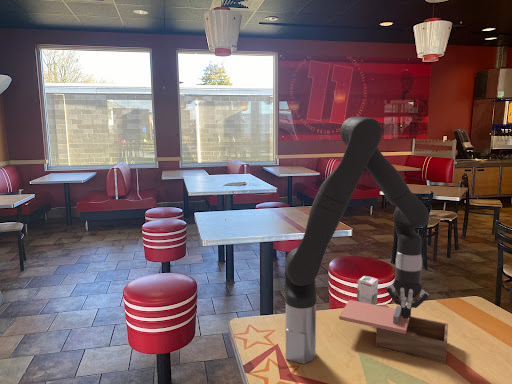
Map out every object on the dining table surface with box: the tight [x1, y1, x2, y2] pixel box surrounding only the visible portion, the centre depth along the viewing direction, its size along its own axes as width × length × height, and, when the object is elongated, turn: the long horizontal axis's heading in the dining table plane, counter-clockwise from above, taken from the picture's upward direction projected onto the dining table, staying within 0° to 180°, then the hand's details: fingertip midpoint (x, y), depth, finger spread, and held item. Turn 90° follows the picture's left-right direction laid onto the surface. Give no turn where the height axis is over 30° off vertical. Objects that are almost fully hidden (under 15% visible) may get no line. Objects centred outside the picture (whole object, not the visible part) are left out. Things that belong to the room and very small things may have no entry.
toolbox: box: [375, 315, 449, 365], centre depth 122 cm, size 13×20×6 cm, turn 62°
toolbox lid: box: [338, 299, 410, 334], centre depth 127 cm, size 14×21×4 cm, turn 62°
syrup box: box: [356, 275, 379, 305], centre depth 141 cm, size 6×6×14 cm
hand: (405, 317), depth 122 cm, fingers closed
